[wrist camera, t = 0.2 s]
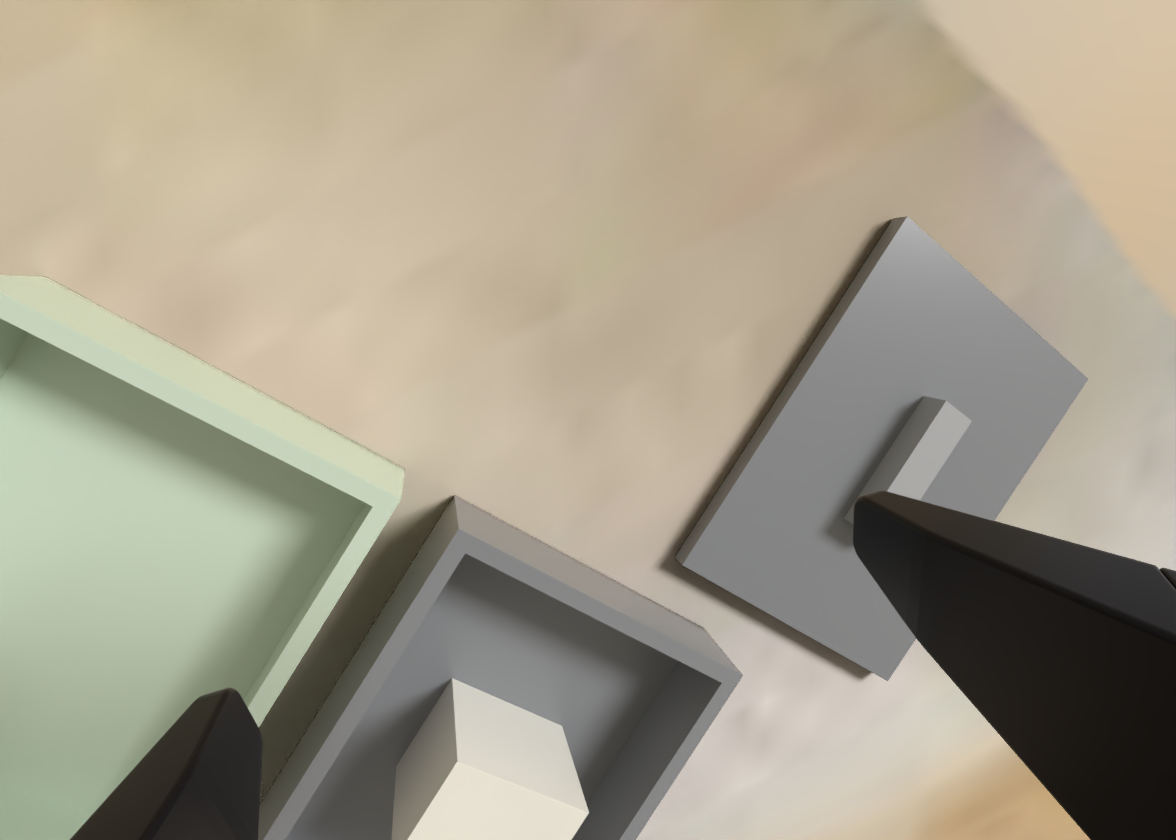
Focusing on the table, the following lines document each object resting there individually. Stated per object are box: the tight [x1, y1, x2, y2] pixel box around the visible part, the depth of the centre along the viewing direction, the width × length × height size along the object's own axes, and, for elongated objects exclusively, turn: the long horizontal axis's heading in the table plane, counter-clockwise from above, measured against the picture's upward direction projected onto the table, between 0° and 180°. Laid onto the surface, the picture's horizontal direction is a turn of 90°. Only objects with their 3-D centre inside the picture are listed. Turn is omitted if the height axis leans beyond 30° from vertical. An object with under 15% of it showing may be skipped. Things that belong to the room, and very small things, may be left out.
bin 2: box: [258, 495, 743, 840], centre depth 24 cm, size 16×12×4 cm
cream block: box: [391, 678, 589, 840], centre depth 23 cm, size 4×5×4 cm
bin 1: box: [0, 275, 405, 840], centre depth 20 cm, size 16×12×4 cm
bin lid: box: [675, 216, 1088, 681], centre depth 27 cm, size 16×12×2 cm
